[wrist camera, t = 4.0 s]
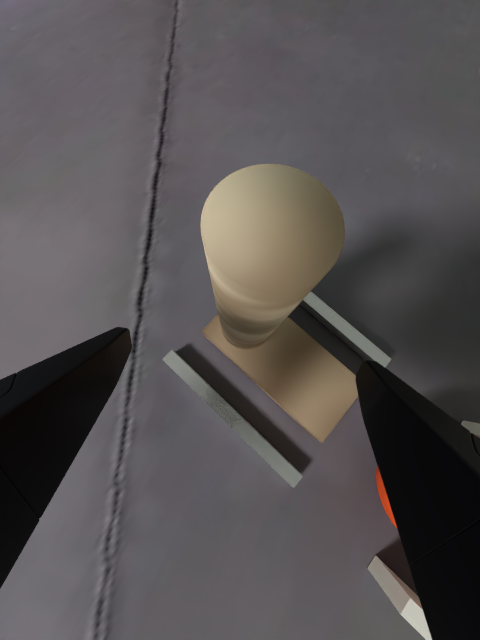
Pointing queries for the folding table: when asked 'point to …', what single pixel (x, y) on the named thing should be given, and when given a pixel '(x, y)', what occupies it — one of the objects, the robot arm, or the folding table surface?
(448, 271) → the folding table surface
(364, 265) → the folding table surface
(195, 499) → the folding table surface
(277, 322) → the ball
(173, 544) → the folding table surface
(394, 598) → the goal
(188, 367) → the rails
